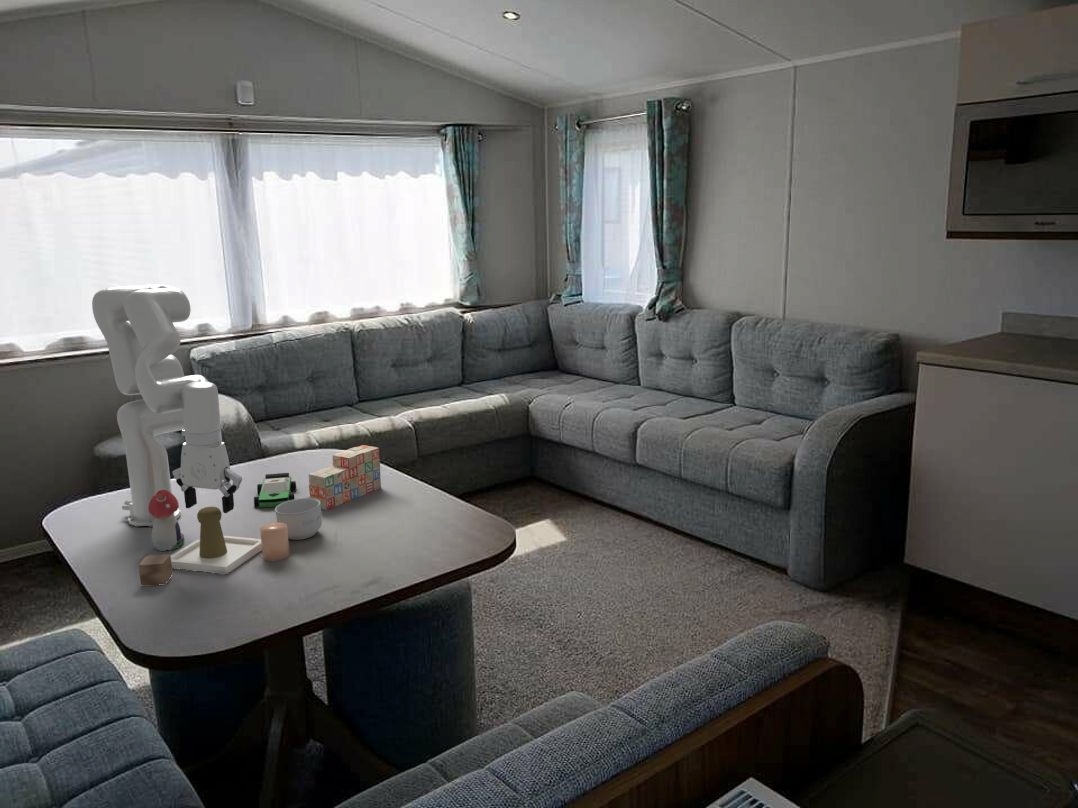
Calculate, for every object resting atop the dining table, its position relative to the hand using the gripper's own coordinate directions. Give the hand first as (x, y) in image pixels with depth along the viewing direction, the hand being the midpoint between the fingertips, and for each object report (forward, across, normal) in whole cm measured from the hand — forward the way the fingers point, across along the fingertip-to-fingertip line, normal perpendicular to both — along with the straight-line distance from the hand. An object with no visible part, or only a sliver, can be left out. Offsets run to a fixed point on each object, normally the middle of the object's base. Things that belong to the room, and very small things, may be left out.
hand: (209, 508), depth 192 cm
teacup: (+12, +13, +17) cm, 25 cm away
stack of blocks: (+12, +12, +44) cm, 47 cm away
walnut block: (+12, -4, -15) cm, 19 cm away
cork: (+11, 0, -1) cm, 11 cm away
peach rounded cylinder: (+11, +14, +3) cm, 18 cm away
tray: (+12, +1, -1) cm, 12 cm away
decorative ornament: (+12, -14, +2) cm, 19 cm away
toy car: (+13, -8, +40) cm, 43 cm away
